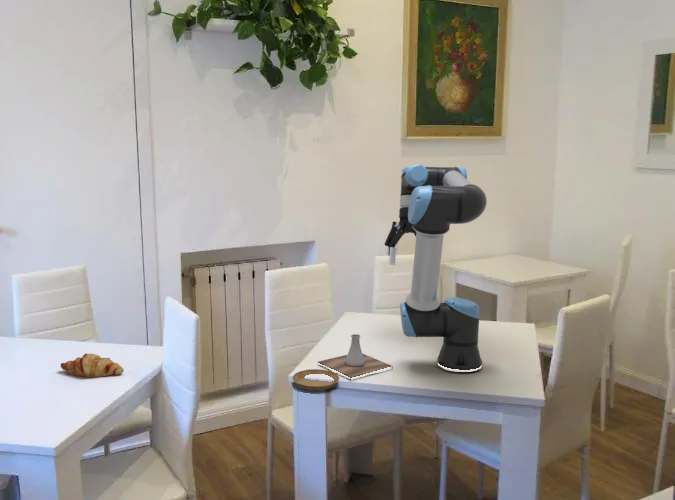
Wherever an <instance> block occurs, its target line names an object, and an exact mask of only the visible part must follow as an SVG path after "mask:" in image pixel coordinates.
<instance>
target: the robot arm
mask: <svg viewBox="0 0 675 500" xmlns="http://www.w3.org/2000/svg"><path fill="white" fill-rule="evenodd" d="M400 178H401V180H400V181H401V183H400V197H399V207H400V208H399V209H398V211H399V213H398V217H399V221H392V224H391V229H390V231H389V233H388V235H387V238H386V239H385V242H384V246H386V247H388V251H387V252H388V257H389V261H388V264H389V265H392V266H395V265H396V258H397V257H396V256H397V255H396V254H397V248H396V245H397V244H398V243H399V241H400V239H402V237H403V235H405V234H409V233H410V234H411V233H412V234H413V235H414V236H415V244H414V245H415V246H414V254H413V255H414V257H413V267H412V278H411V287H410V288H411V289H410V293H409V294H407V296H406V297H405V301H403V302H401V303H400V304H399V311H400V312H399V313H400V321H401V328H402V331H403V332H402V333H403V334H404V336H406V337H407V338H443V340H442V342H443V343H442V345H441V348H440V350H439V354H438V356H437V358H436V359H437V362H438V363H439V364H440V365H442V366H444V367H447V368H451V369H459V370H470V369H476V368H479V367H480V366H481V365H482V366H483V359H482V357H481V354H480V349H479V329H480V328H479V327H480V326H479V325H480V319H481V317H480V307H479V305H478V304H477V302H475V301H474V300H473V301H472V300H470V299H466V298H461V297H456V296H455V297H454V296H450V297H446V298H445V299H444V300H443V301H444V302H441V299H440V298H439V296H438V290H439V289H438V287H439V280H440V270H441V269H440V268H441V261H442V254H443V253H442V252H443V245H444V244H443V242H444V235H445V234H447V233H448V232H449V231H450V227H451V226H450V225H458V224H459V225H461V224H468V223H471V222H472V221H475V220H477V219H478V218H479V217H480V216H482V215H483V213H484V211H485V210H486V208H487V207H486V206H487V202H488V201H487V195H486V193H485V192H484V190H483V189H481V188H480V186H478V185H475V184H472V183H471V182H470V181H469V180H468V173H467V170H466V168H464V167H459V166H454V167H452V166H450V167H447V166H446V167H445V166H443V167H442V166H440V167H438V166H424V165H423V164H419V163H417V164H413V165H411V166H405V167H404V168H402V169H401V176H400ZM437 362H436V363H437Z"/></svg>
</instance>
